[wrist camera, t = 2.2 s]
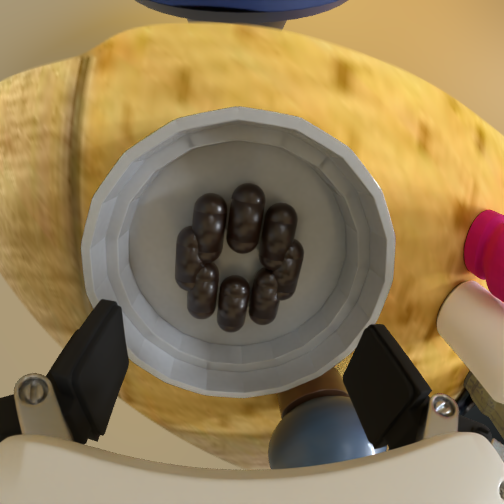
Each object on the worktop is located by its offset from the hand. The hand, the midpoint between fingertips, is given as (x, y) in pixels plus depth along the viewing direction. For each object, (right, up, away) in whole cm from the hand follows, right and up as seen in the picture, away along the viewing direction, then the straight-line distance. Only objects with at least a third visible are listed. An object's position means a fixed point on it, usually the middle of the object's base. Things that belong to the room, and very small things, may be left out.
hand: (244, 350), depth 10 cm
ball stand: (+5, -9, +13) cm, 16 cm away
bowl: (-1, +3, +7) cm, 8 cm away
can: (+21, -2, +11) cm, 24 cm away
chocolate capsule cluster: (-1, +3, +7) cm, 8 cm away
